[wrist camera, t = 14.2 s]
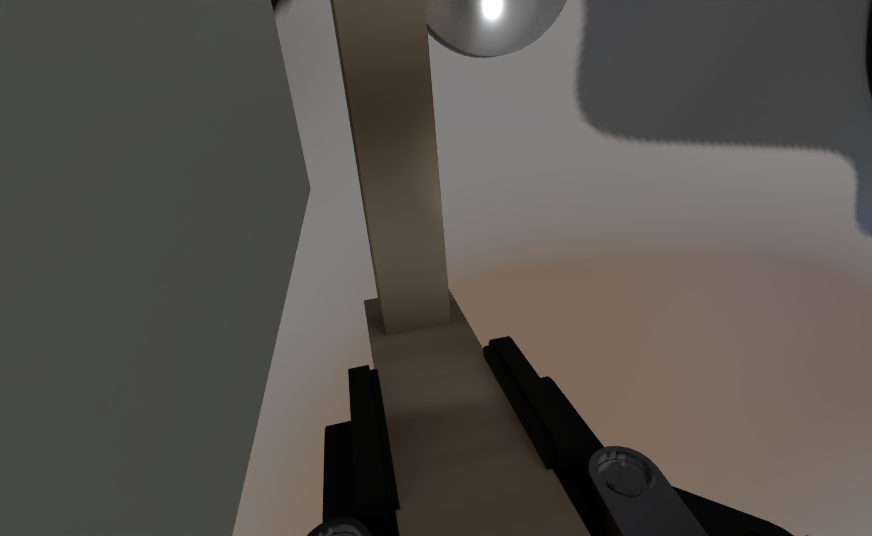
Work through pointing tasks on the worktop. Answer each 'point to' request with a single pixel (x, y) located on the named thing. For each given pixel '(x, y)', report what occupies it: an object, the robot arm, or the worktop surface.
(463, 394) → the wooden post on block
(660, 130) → the worktop surface
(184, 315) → the grey block
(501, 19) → the grey shiny disc
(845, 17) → the worktop surface
